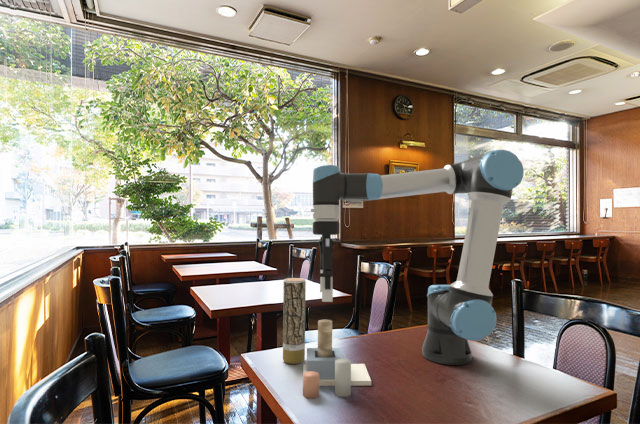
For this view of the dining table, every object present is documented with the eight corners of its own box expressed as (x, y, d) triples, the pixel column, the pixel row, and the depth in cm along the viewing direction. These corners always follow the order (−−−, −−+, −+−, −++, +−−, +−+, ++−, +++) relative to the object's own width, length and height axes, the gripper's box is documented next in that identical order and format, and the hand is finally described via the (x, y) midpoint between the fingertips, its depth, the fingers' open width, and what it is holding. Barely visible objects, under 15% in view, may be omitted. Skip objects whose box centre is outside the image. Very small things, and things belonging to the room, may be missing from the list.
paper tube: (301, 365, 113) (302, 281, 114) (279, 363, 114) (280, 280, 115) (307, 357, 120) (307, 278, 120) (286, 356, 121) (287, 277, 122)
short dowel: (318, 391, 96) (318, 371, 96) (319, 398, 92) (319, 377, 92) (302, 391, 96) (303, 371, 96) (302, 398, 92) (303, 377, 92)
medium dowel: (349, 389, 97) (350, 358, 97) (351, 397, 93) (351, 364, 93) (334, 390, 97) (334, 358, 97) (335, 397, 93) (335, 364, 93)
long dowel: (331, 369, 107) (331, 319, 108) (332, 374, 103) (332, 323, 104) (317, 369, 107) (317, 319, 108) (317, 374, 103) (318, 323, 104)
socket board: (364, 367, 112) (364, 346, 112) (371, 385, 100) (371, 361, 100) (303, 368, 111) (303, 346, 111) (303, 385, 99) (303, 362, 99)
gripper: (312, 220, 119) (311, 288, 118) (313, 220, 94) (313, 306, 93) (335, 220, 119) (335, 288, 118) (343, 220, 94) (343, 306, 94)
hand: (326, 296), depth 106 cm, fingers open, 13 cm apart
